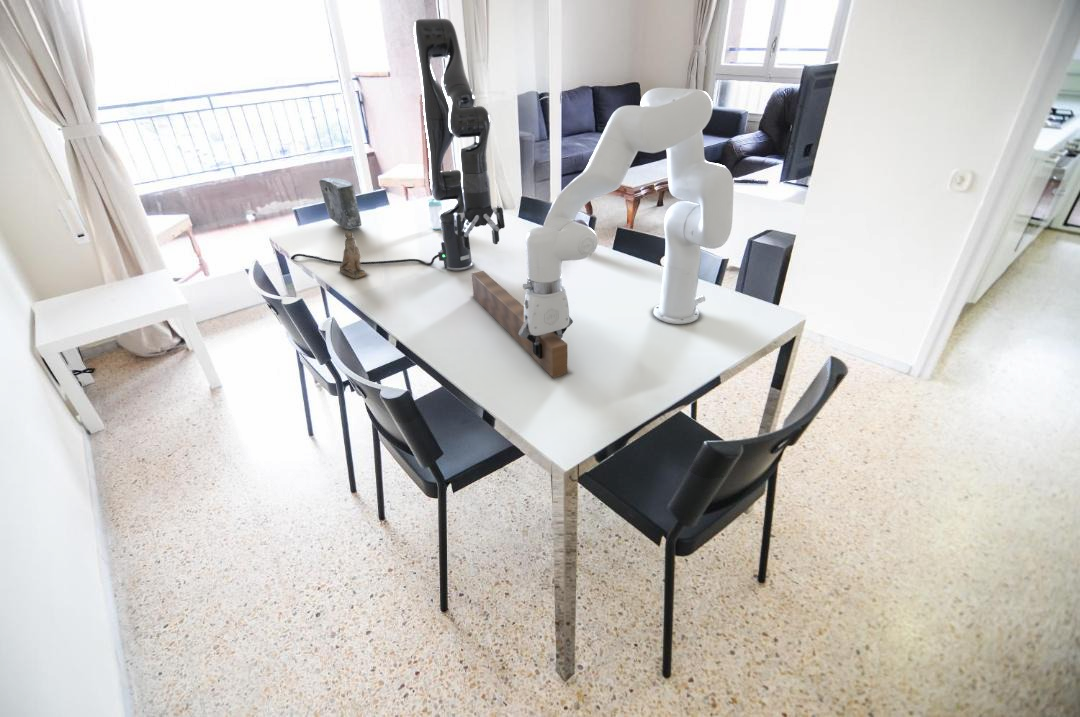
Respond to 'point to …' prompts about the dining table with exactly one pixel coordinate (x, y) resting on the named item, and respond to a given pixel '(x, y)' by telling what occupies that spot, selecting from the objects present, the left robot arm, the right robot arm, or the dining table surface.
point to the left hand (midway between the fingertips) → (481, 246)
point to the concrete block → (341, 202)
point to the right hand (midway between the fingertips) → (547, 352)
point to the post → (519, 323)
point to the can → (435, 213)
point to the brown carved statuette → (351, 258)
